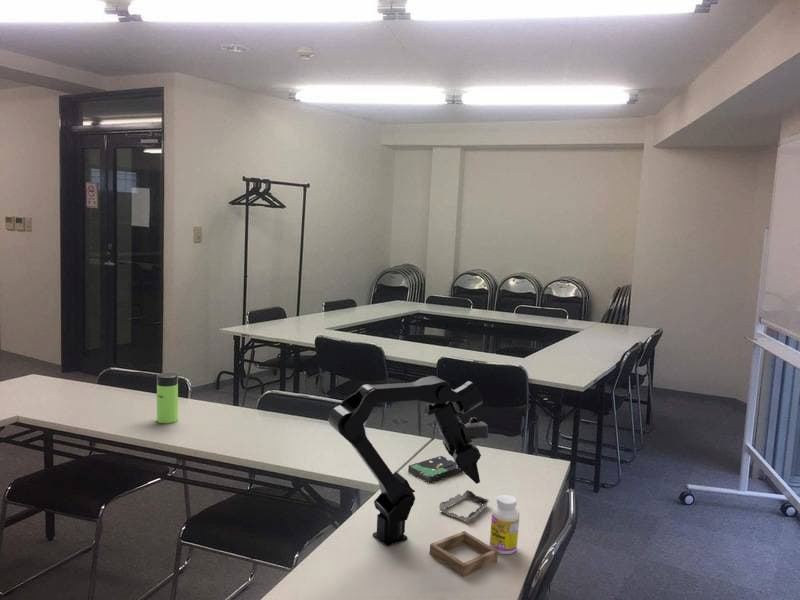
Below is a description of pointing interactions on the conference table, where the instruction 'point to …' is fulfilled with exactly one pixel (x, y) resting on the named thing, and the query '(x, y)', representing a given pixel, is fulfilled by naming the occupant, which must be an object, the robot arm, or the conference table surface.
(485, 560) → the brown wooden square frame
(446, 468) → the disk drive
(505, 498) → the supplement bottle
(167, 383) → the tumbler
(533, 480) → the conference table surface
